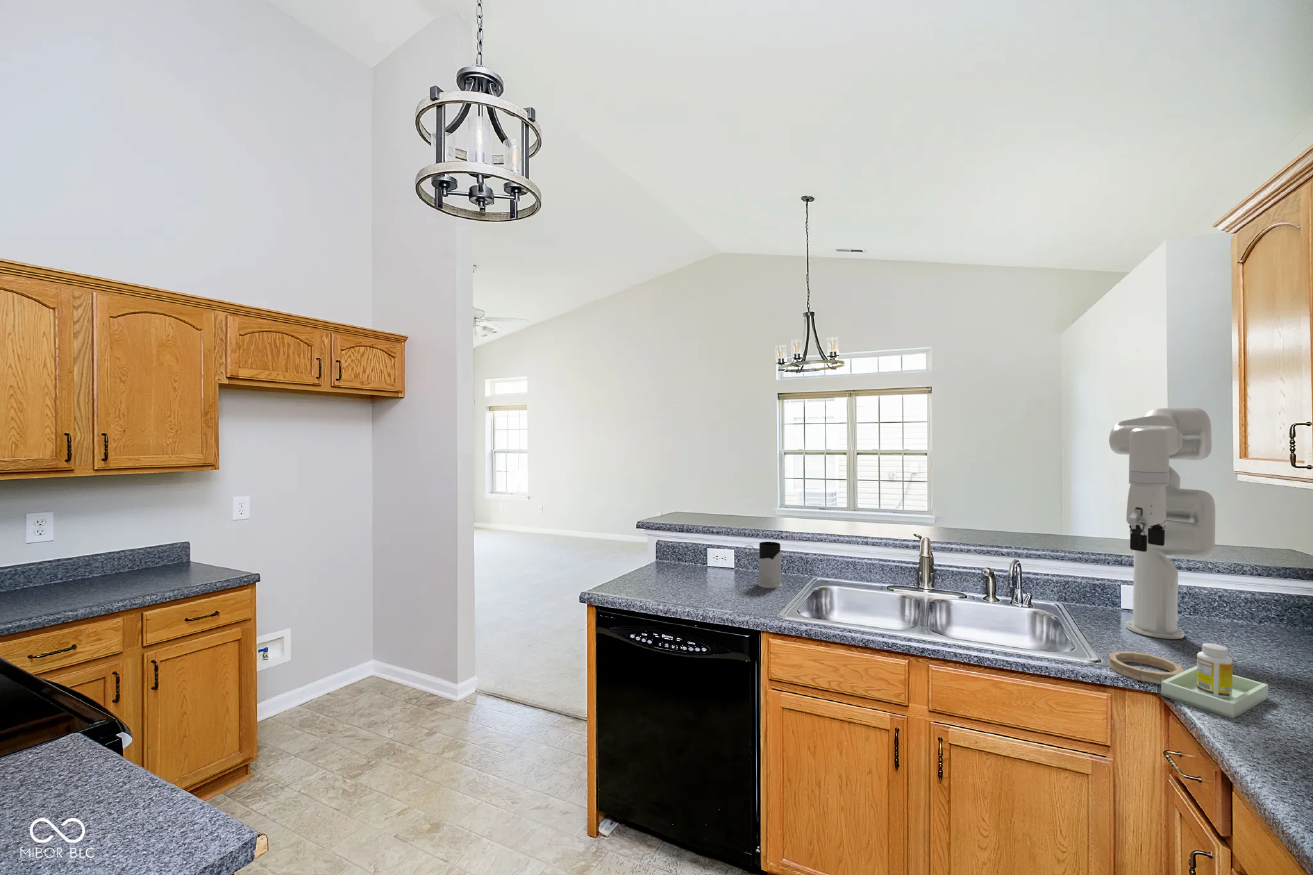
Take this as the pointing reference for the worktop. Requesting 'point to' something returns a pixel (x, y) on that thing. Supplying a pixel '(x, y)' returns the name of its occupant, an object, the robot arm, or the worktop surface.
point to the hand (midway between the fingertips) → (1147, 547)
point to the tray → (1186, 691)
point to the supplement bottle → (1214, 671)
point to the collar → (1142, 658)
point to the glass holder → (768, 564)
